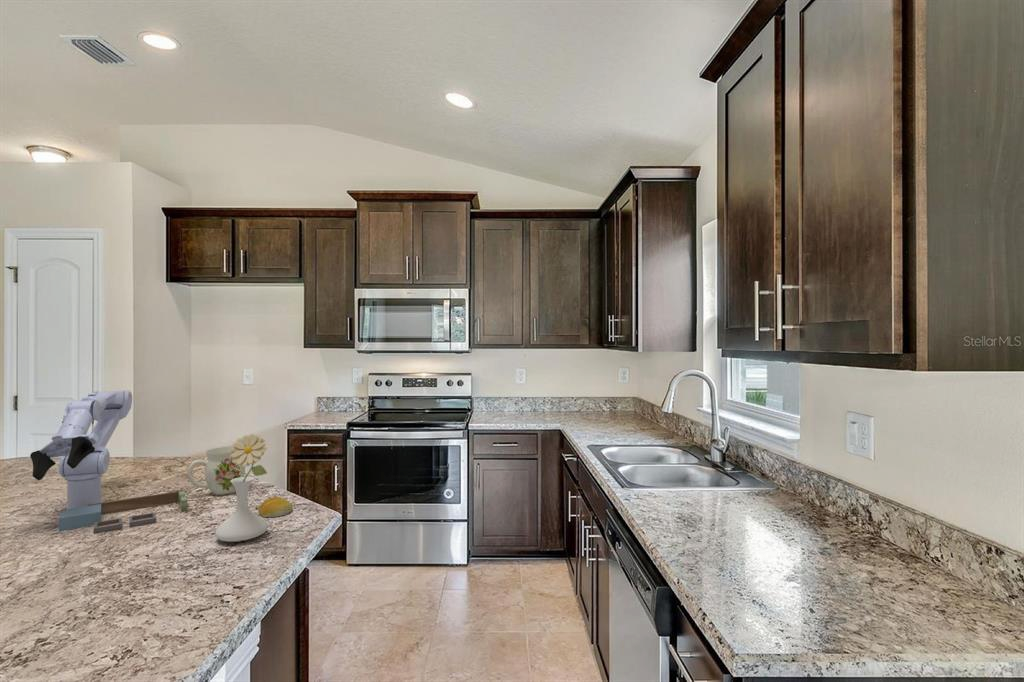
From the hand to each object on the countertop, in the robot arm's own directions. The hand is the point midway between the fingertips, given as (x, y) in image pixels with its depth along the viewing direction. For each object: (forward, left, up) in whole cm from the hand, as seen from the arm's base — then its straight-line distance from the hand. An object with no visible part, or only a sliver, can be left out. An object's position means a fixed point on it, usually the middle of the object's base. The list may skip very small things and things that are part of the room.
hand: (53, 471), depth 123 cm
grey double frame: (+2, +14, -15) cm, 21 cm away
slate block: (-6, +5, -16) cm, 18 cm away
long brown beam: (-6, +17, -15) cm, 23 cm away
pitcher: (-15, +38, -16) cm, 43 cm away
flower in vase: (+30, +37, -16) cm, 50 cm away
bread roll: (+15, +47, -16) cm, 52 cm away
